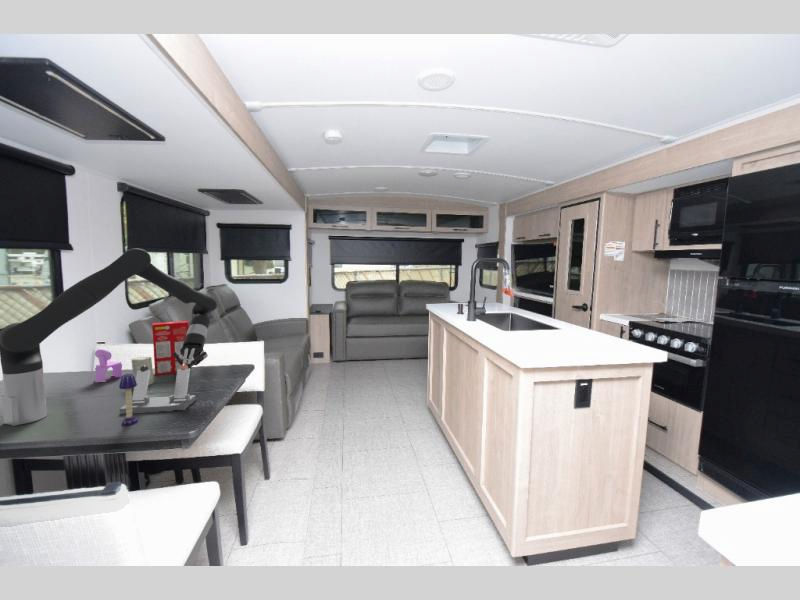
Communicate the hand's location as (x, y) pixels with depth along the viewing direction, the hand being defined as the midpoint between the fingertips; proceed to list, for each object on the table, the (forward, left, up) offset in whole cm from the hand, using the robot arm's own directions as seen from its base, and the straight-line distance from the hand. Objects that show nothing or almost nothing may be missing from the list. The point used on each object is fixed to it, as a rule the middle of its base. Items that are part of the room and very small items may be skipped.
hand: (184, 374), depth 134 cm
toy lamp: (-21, -1, -11) cm, 24 cm away
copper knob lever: (-5, -3, -8) cm, 10 cm away
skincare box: (+6, +34, -11) cm, 37 cm away
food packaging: (+24, +40, -11) cm, 48 cm away
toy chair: (+5, +56, -11) cm, 58 cm away
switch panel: (-8, +3, -11) cm, 14 cm away
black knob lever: (-12, +9, -8) cm, 17 cm away
